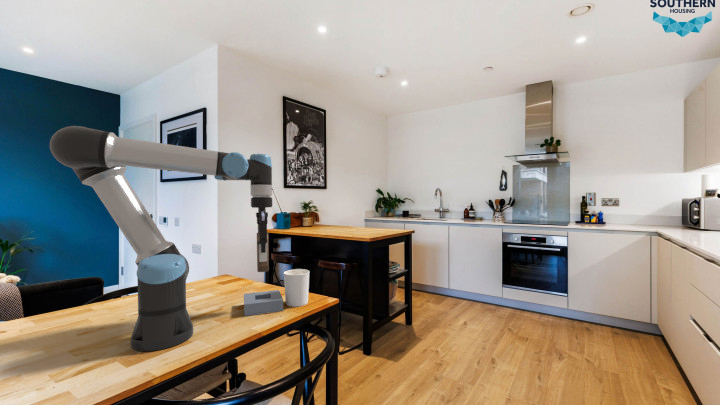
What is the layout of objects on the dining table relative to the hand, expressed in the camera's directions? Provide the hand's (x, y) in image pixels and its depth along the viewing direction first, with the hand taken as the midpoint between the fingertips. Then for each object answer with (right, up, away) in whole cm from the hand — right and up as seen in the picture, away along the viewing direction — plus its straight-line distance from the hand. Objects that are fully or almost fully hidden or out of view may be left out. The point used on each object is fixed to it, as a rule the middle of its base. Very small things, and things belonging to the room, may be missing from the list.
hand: (262, 260), depth 114 cm
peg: (0, -4, 0) cm, 4 cm away
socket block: (0, -18, 0) cm, 18 cm away
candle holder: (+12, -18, +5) cm, 22 cm away
